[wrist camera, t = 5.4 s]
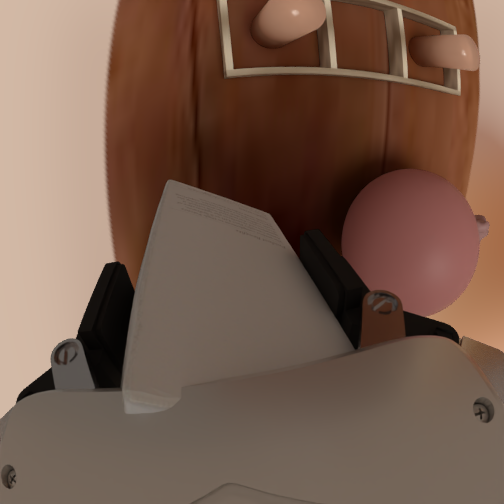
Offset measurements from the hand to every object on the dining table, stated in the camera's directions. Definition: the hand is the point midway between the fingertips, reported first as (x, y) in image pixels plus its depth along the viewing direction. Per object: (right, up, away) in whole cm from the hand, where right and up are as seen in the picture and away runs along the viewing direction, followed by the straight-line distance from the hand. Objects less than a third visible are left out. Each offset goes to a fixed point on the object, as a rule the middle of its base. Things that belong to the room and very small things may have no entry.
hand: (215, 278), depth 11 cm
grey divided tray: (+12, +23, +10) cm, 28 cm away
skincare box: (-1, +3, +4) cm, 5 cm away
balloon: (+19, +6, +22) cm, 29 cm away
